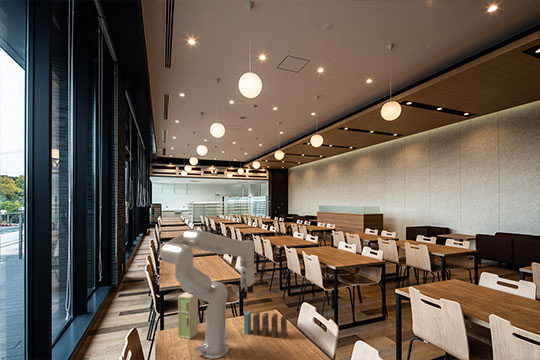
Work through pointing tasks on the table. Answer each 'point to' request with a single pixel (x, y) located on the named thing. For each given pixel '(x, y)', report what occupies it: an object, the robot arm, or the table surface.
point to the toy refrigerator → (187, 316)
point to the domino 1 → (247, 322)
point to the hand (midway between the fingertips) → (247, 295)
